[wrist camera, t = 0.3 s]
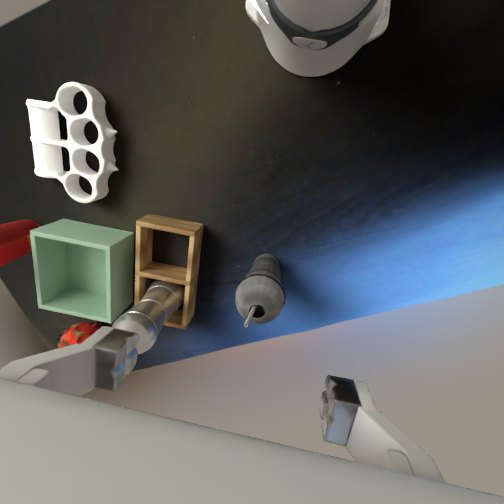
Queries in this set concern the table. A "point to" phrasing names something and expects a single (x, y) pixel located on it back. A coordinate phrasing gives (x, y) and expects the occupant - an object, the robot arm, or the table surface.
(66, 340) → the dragon fruit
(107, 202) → the table surface
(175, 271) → the rack
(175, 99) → the table surface
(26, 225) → the paper cup
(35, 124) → the knuckle duster
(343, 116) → the table surface
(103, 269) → the open storage box
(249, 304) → the beverage cup
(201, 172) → the table surface
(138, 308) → the silver metal bottle
